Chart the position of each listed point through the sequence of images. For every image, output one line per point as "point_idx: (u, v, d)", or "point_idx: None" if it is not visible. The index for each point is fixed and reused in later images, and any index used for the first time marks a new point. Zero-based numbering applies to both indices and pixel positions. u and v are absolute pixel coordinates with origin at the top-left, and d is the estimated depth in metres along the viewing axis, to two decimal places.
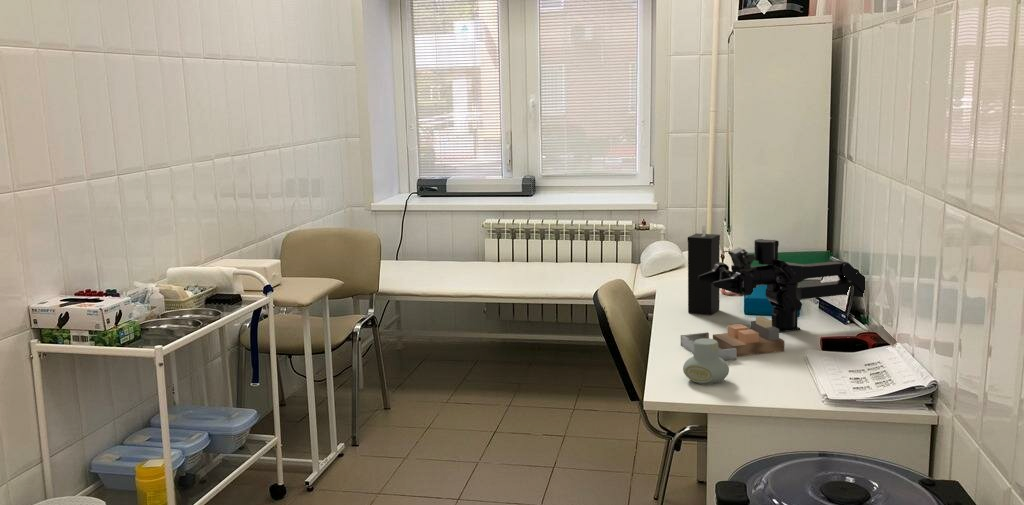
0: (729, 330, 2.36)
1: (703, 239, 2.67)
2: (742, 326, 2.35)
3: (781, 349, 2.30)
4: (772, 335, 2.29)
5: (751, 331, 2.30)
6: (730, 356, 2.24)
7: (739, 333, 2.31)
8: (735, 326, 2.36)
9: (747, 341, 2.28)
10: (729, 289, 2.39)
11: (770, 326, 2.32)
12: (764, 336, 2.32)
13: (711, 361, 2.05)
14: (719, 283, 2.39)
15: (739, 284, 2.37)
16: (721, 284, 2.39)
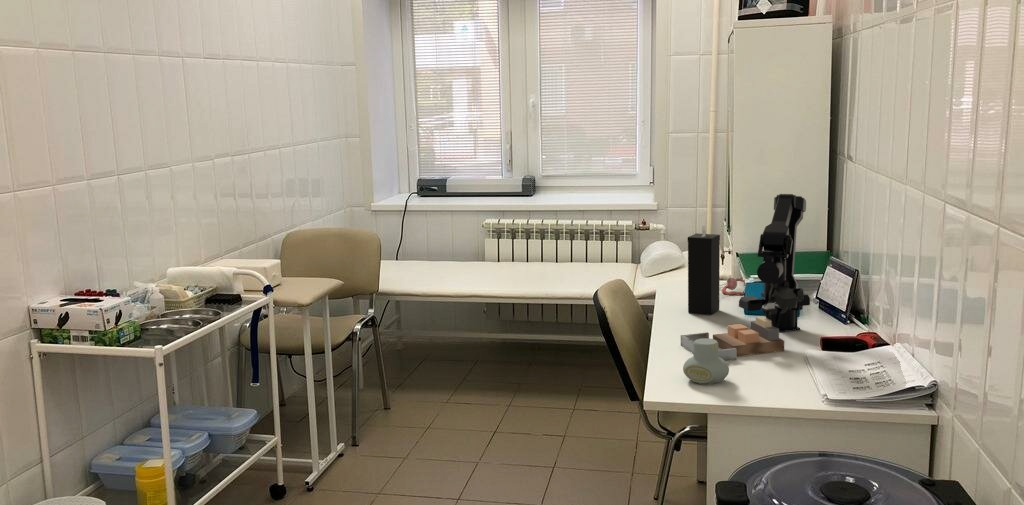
0: (729, 330, 2.36)
1: (703, 239, 2.67)
2: (742, 326, 2.35)
3: (781, 349, 2.30)
4: (772, 335, 2.29)
5: (751, 331, 2.30)
6: (730, 356, 2.24)
7: (739, 333, 2.31)
8: (735, 326, 2.36)
9: (747, 341, 2.28)
10: None
11: (770, 326, 2.32)
12: (764, 336, 2.32)
13: (711, 361, 2.05)
14: None
15: None
16: None
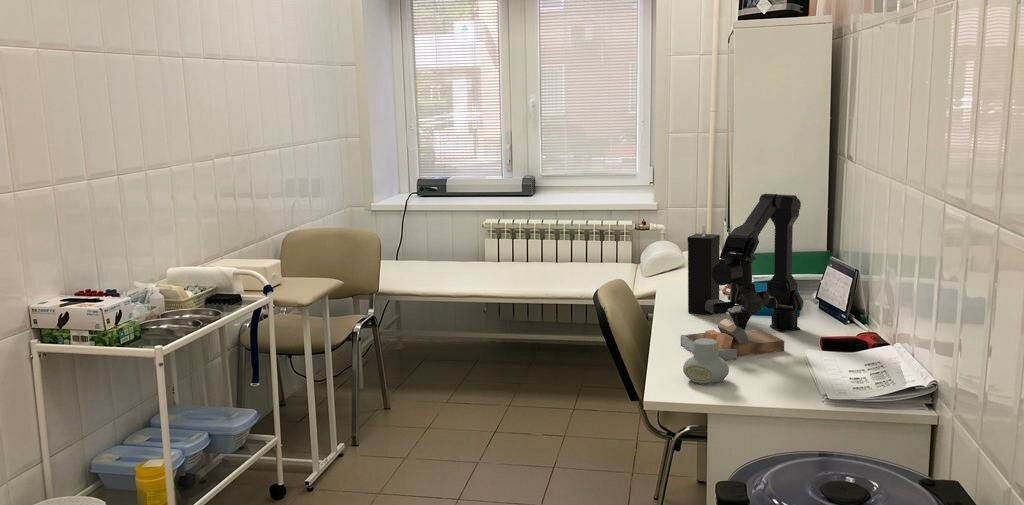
0: None
1: (703, 239, 2.67)
2: (709, 336, 2.34)
3: (781, 349, 2.30)
4: (739, 337, 2.27)
5: (720, 337, 2.28)
6: (730, 356, 2.24)
7: None
8: None
9: None
10: None
11: (735, 328, 2.29)
12: (733, 340, 2.30)
13: (711, 361, 2.05)
14: None
15: None
16: None
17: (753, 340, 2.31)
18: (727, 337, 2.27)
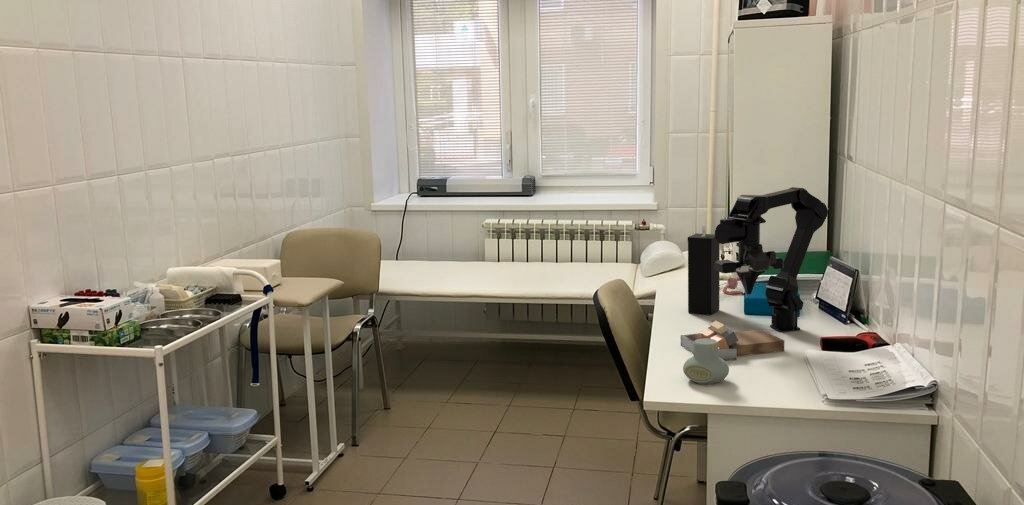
0: None
1: (703, 239, 2.67)
2: (705, 337, 2.33)
3: (781, 349, 2.30)
4: (729, 339, 2.27)
5: None
6: (730, 356, 2.24)
7: None
8: None
9: None
10: None
11: (725, 330, 2.29)
12: None
13: (711, 361, 2.05)
14: None
15: None
16: None
17: (753, 340, 2.31)
18: (720, 341, 2.26)
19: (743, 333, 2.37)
